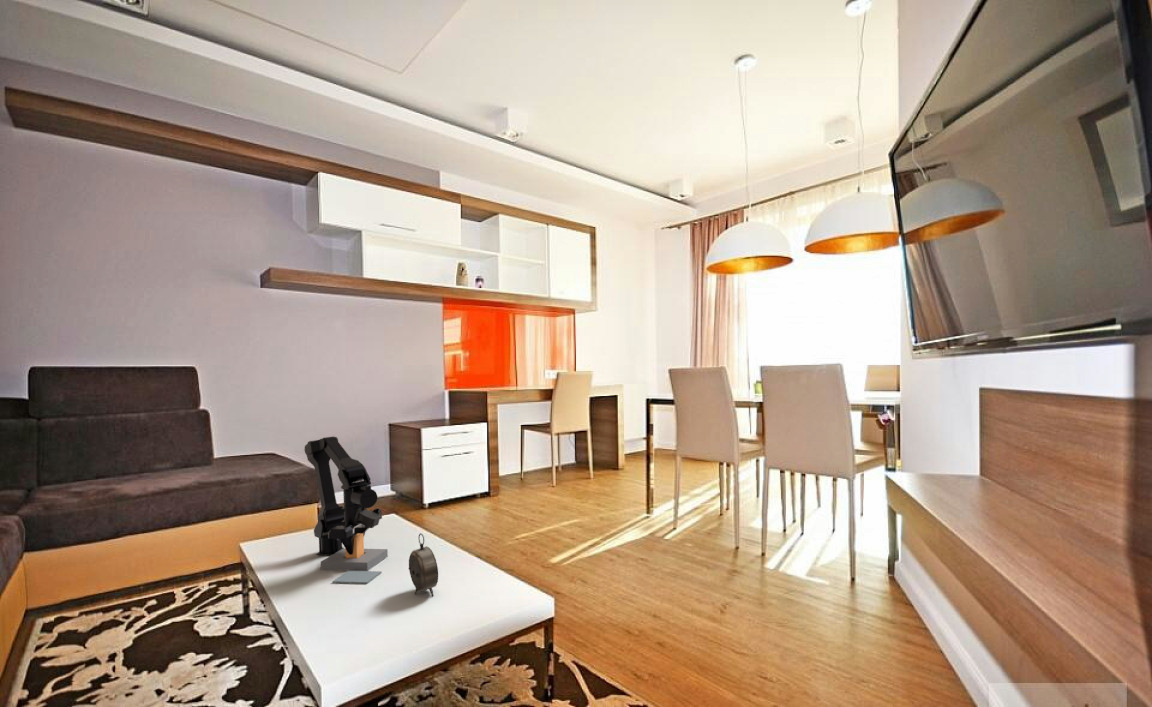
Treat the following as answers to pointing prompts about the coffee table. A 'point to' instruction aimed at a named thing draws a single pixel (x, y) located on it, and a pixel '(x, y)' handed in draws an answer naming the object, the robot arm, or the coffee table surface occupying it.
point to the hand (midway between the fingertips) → (354, 552)
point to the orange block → (357, 547)
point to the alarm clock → (423, 568)
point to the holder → (354, 560)
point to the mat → (357, 577)
